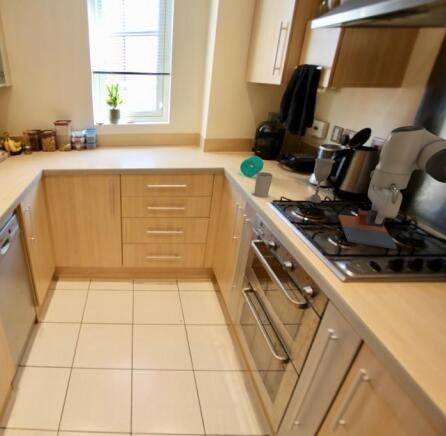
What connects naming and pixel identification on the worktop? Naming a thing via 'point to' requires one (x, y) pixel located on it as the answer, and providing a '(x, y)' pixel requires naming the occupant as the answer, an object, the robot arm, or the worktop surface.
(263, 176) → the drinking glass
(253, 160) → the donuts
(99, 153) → the worktop surface
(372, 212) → the slate block
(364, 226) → the board
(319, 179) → the chalice
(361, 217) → the terracotta block
